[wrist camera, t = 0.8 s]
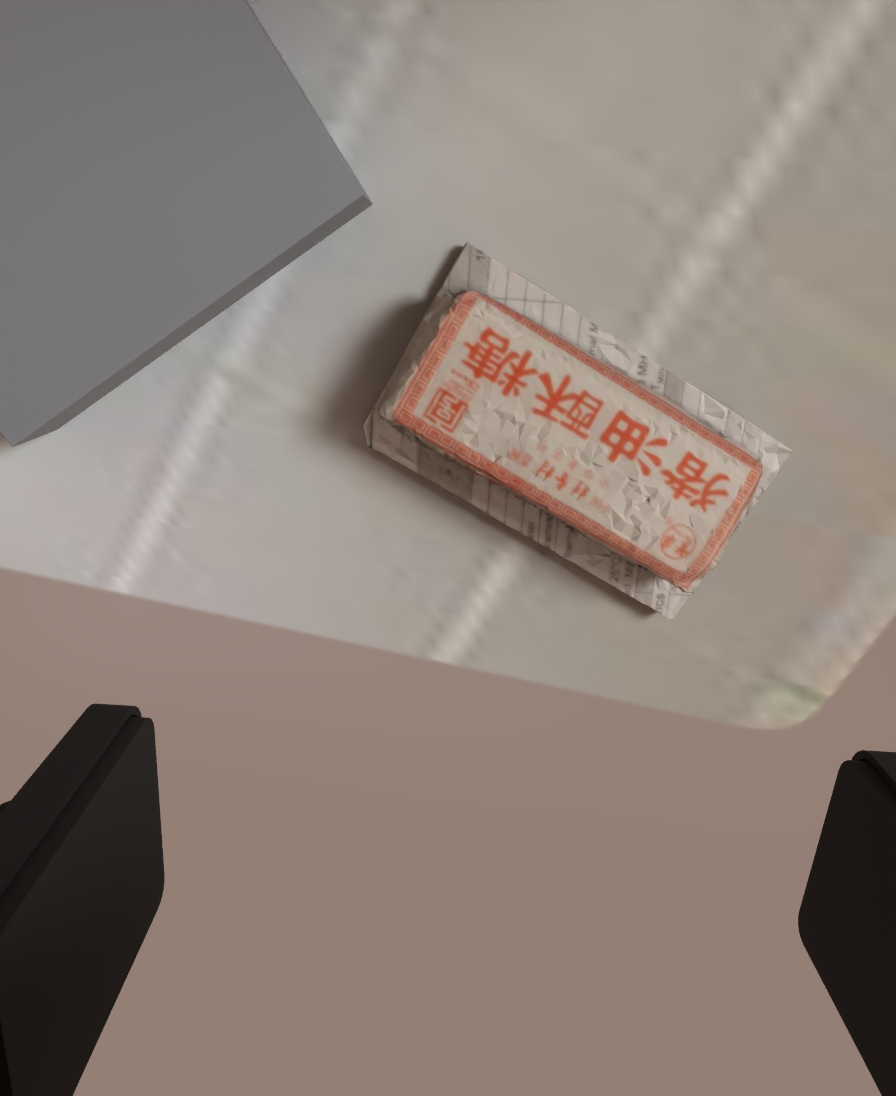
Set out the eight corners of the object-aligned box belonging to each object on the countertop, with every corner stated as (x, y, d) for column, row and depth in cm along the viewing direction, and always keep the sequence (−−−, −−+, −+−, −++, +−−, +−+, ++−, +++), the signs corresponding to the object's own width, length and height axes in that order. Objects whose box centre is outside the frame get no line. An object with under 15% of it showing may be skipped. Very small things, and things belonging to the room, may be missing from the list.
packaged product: (344, 455, 33) (467, 235, 30) (357, 433, 37) (464, 241, 35) (692, 652, 36) (833, 469, 33) (664, 610, 40) (786, 446, 38)
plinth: (93, -247, 29) (39, -326, 25) (372, 204, 34) (363, 194, 30) (-244, 59, 32) (-337, 30, 28) (57, 429, 37) (12, 446, 33)
